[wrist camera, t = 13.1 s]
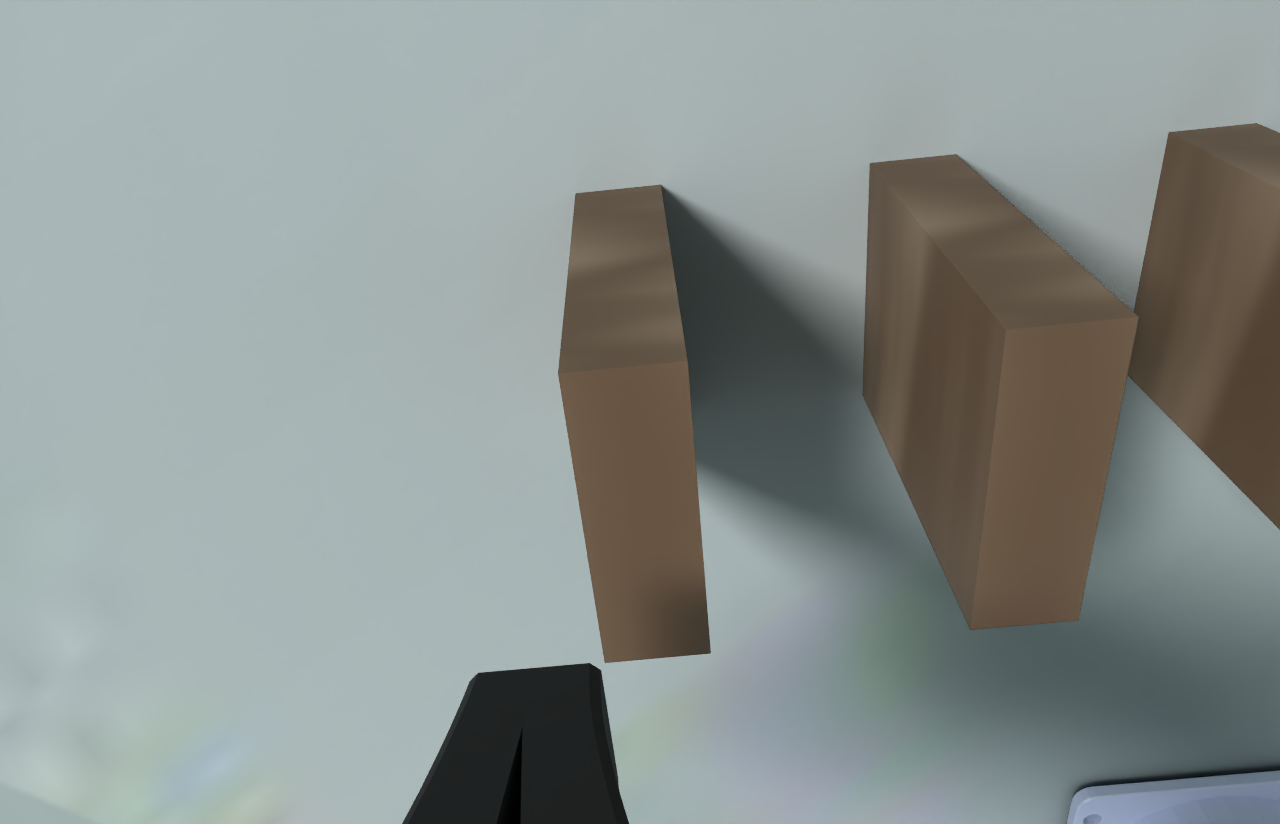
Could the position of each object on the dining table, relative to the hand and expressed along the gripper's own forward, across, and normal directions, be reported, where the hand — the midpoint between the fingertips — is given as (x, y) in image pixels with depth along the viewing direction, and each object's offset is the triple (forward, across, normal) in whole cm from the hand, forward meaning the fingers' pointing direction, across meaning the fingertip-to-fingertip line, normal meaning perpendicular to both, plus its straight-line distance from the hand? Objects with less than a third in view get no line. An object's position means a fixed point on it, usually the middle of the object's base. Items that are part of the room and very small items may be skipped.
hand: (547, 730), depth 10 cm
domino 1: (+10, -1, 0) cm, 10 cm away
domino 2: (+10, -7, 0) cm, 12 cm away
